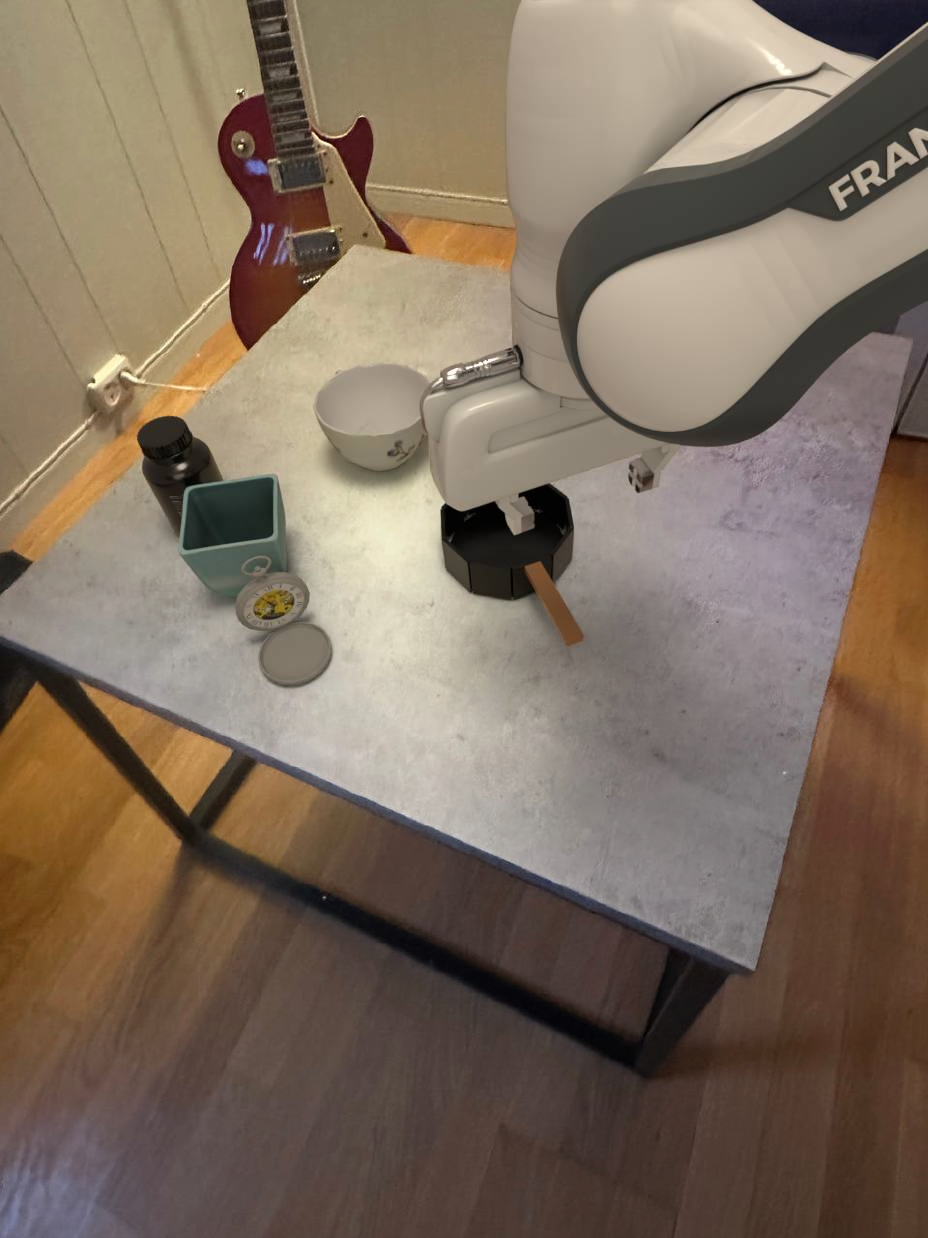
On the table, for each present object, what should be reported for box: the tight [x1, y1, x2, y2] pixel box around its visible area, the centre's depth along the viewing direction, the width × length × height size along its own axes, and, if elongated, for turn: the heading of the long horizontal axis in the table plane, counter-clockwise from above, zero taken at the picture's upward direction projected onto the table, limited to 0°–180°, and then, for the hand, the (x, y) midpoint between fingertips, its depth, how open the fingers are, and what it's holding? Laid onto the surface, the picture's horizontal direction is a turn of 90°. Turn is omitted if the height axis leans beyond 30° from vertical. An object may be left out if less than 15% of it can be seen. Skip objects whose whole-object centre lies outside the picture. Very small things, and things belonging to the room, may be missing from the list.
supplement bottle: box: [136, 415, 225, 537], centre depth 76 cm, size 7×7×12 cm
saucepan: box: [439, 483, 585, 647], centre depth 71 cm, size 21×13×5 cm, turn 21°
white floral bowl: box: [312, 361, 431, 472], centre depth 82 cm, size 15×12×8 cm
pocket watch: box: [234, 556, 333, 686], centre depth 66 cm, size 8×8×10 cm
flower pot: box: [177, 473, 287, 598], centre depth 72 cm, size 9×9×9 cm
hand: (582, 505), depth 53 cm, fingers open, 8 cm apart
